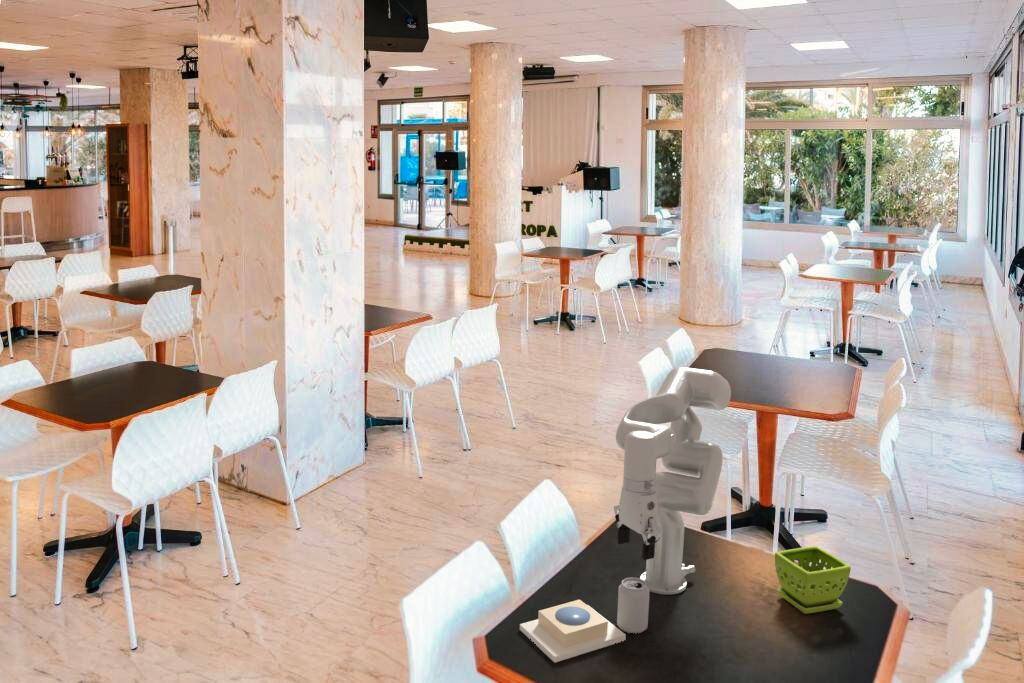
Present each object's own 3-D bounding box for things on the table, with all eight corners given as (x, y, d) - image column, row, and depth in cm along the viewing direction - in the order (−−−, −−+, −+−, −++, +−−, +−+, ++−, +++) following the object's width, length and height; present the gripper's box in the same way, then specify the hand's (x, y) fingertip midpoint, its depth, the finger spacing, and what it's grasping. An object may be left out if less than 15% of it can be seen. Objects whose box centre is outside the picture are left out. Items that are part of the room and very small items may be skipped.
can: (646, 637, 210) (649, 591, 208) (615, 633, 212) (617, 588, 209) (648, 621, 218) (650, 577, 215) (618, 618, 219) (620, 573, 217)
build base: (587, 610, 223) (588, 591, 221) (625, 640, 209) (626, 620, 208) (519, 629, 213) (520, 610, 212) (554, 662, 199) (555, 642, 198)
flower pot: (848, 612, 224) (853, 566, 221) (803, 621, 219) (807, 574, 216) (812, 587, 237) (816, 543, 234) (769, 595, 232) (772, 550, 229)
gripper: (675, 492, 201) (670, 561, 205) (629, 469, 216) (626, 534, 219) (649, 498, 198) (645, 568, 201) (604, 474, 212) (601, 540, 216)
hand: (635, 550), depth 210 cm, fingers open, 9 cm apart
